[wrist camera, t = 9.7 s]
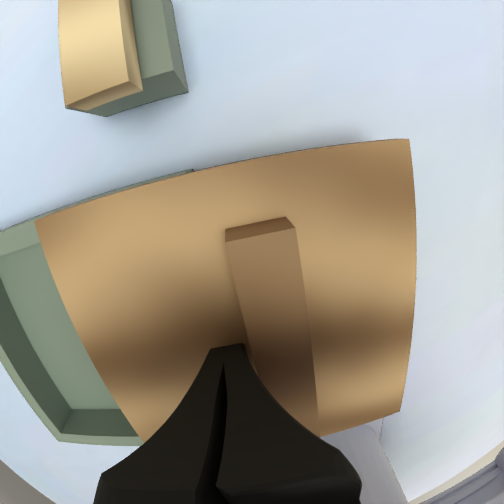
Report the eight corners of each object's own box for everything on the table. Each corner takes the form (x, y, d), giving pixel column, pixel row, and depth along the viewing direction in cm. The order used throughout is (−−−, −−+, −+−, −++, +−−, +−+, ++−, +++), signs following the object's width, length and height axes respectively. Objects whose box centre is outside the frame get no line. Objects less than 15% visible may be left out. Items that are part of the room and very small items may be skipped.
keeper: (188, 92, 12) (173, 70, 8) (105, 117, 12) (65, 108, 8) (172, 3, 10) (156, -38, 7) (94, 29, 10) (58, 0, 7)
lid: (393, 399, 15) (410, 429, 13) (158, 446, 15) (153, 479, 12) (395, 138, 10) (433, 139, 8) (46, 215, 10) (11, 231, 8)
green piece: (252, 399, 18) (257, 435, 15) (70, 413, 18) (58, 441, 15) (192, 168, 13) (183, 173, 10) (-18, 238, 13) (-48, 255, 10)
